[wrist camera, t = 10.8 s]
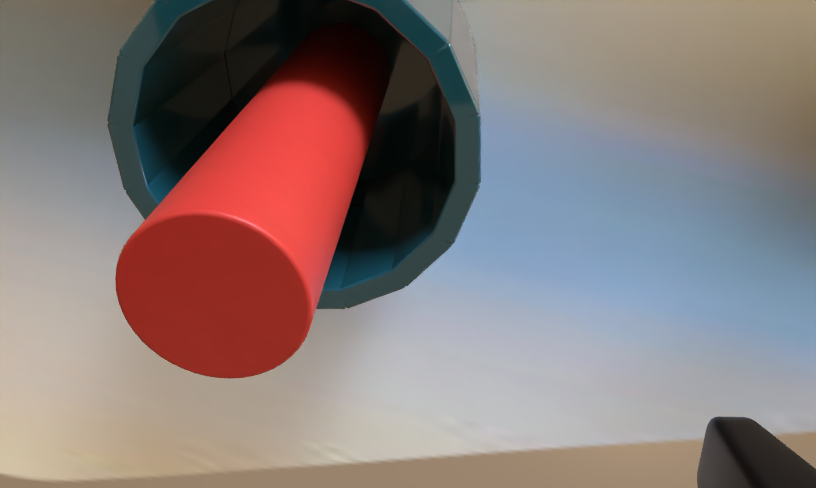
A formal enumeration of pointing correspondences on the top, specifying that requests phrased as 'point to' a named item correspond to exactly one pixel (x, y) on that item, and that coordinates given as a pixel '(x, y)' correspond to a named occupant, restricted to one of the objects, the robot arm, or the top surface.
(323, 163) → the red cylinder rod
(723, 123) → the top surface
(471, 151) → the tumbler
